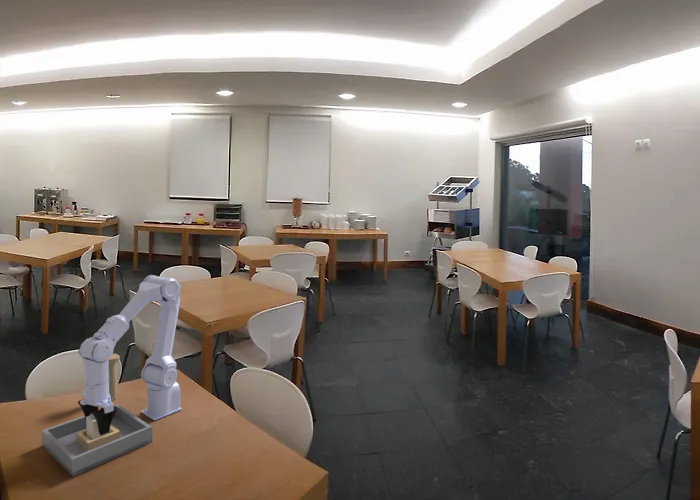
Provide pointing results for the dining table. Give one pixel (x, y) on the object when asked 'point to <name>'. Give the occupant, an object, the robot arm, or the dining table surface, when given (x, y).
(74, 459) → the box
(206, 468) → the dining table surface
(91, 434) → the plug
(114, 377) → the handle
